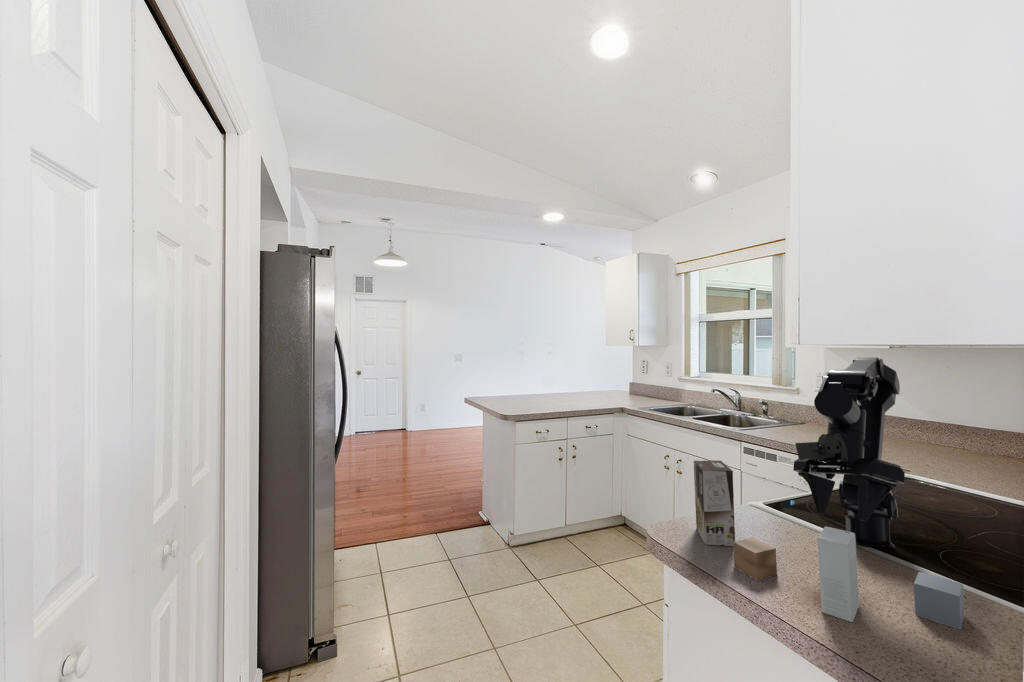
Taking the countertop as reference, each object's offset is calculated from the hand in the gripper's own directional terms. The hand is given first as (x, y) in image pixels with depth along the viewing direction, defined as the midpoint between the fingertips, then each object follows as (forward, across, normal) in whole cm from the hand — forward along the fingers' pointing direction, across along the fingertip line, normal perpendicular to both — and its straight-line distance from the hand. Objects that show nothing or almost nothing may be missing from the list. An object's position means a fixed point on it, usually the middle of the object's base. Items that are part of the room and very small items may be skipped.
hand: (840, 516), depth 79 cm
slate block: (+11, +8, +10) cm, 17 cm away
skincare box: (+15, +5, -3) cm, 16 cm away
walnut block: (+14, -8, -9) cm, 18 cm away
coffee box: (+10, -22, -9) cm, 26 cm away
